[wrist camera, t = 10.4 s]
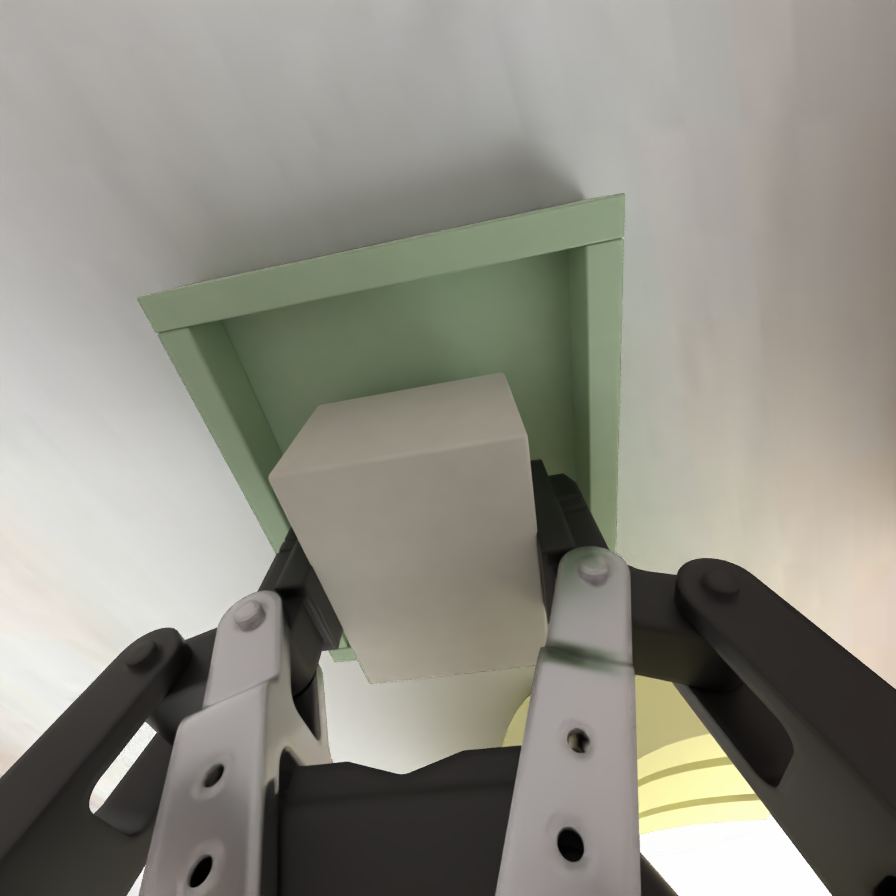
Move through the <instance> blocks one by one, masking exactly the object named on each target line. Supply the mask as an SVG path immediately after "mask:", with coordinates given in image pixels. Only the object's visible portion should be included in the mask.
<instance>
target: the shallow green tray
mask: <svg viewBox="0 0 896 896" xmlns="http://www.w3.org/2000/svg"><path fill="white" fill-rule="evenodd" d="M624 218H625V194H624V193H621V194H615V195H609V196H603V197H597V198H591V199H585V200H581V201H576V202H572V203H567V204H562V205H558V206H553V207H548V208H544V209H539V210H534V211H530V212H525V213H520V214H516V215H511V216H506V217H502V218H497V219H492V220H488V221H483V222H478V223H474V224H469V225H464V226H460V227H455V228H450V229H446V230H441V231H436V232H432V233H427V234H422V235H418V236H413V237H408V238H404V239H399V240H394V241H390V242H385V243H380V244H376V245H371V246H366V247H362V248H357V249H353V250H348V251H343V252H339V253H334V254H329V255H325V256H320V257H315V258H311V259H306V260H301V261H297V262H292V263H287V264H283V265H278V266H273V267H269V268H264V269H259V270H255V271H250V272H245V273H241V274H236V275H231V276H227V277H222V278H217V279H213V280H208V281H203V282H199V283H194V284H190V285H186V286H182V287H178V288H173V289H169V290H165V291H161V292H157V293H153V294H149V295H144V296H140V297H138V298H137V299H138V301H139V303H140V305H141V307H142V309H143V311H144V312H145V314H146V316H147V318H148V320H149V322H150V323H151V325H152V327H153V329H154V331H155V332H157V333H159V332H160V333H159V334H158V337H159V339H160V341H161V342H162V344H163V346H164V348H165V350H166V352H167V353H168V355H169V357H170V359H171V361H172V363H173V365H174V366H175V368H176V370H177V372H178V374H179V376H180V377H181V379H182V381H183V383H184V385H185V387H186V389H187V390H188V392H189V394H190V396H191V398H192V400H193V401H194V403H195V405H196V407H197V409H198V411H199V413H200V414H201V416H202V418H203V420H204V422H205V424H206V425H207V427H208V429H209V431H210V433H211V435H212V436H213V438H214V440H215V442H216V444H217V446H218V448H219V449H220V451H221V453H222V455H223V457H224V459H225V460H226V462H227V464H228V466H229V468H230V470H231V472H232V473H233V475H234V477H235V479H236V481H237V483H238V484H239V486H240V488H241V490H242V492H243V494H244V496H245V497H246V499H247V501H248V503H249V505H250V507H251V508H252V510H253V512H254V514H255V516H256V518H257V520H258V521H259V523H260V525H261V527H262V529H263V531H264V532H265V534H266V536H267V538H268V540H269V542H270V544H271V545H272V547H273V549H274V551H275V553H276V555H277V553H279V549H280V547H281V545H282V543H283V542H285V537H286V535H287V533H288V531H289V530H290V528H291V524H290V522H289V520H288V518H287V516H286V514H285V512H284V510H283V508H282V506H281V504H280V502H279V500H278V498H277V496H276V494H275V492H274V490H273V488H272V486H271V484H270V482H269V478H268V477H269V474H270V473H271V472H272V470H273V469H274V467H275V466H276V465H277V463H278V462H279V460H280V459H281V457H282V456H283V455H284V453H285V452H286V450H287V449H288V448H289V446H290V445H291V443H292V442H293V441H294V439H295V438H296V436H297V435H298V433H299V432H300V431H301V429H302V428H303V426H304V425H305V424H306V422H307V421H308V419H309V418H310V417H311V415H312V414H313V412H314V411H315V409H316V408H317V407H318V406H319V405H323V404H328V403H334V402H339V401H345V400H350V399H356V398H361V397H367V396H372V395H378V394H383V393H389V392H395V391H400V390H406V389H411V388H417V387H422V386H428V385H433V384H439V383H444V382H450V381H456V380H461V379H467V378H472V377H478V376H483V375H489V374H494V373H500V372H502V373H504V374H505V376H506V379H507V382H508V385H509V387H510V390H511V393H512V395H513V398H514V401H515V403H516V406H517V409H518V411H519V414H520V417H521V419H522V422H523V425H524V428H525V430H526V433H527V436H528V444H529V454H530V461H531V460H537V459H542V461H543V464H544V466H545V469H546V471H547V474H548V476H549V475H556V474H562V473H564V474H565V475H566V476H568V477H569V478H570V479H572V480H573V481H575V482H576V483H577V485H578V487H579V489H580V491H581V493H582V496H583V498H584V499H585V501H586V503H587V505H588V508H589V510H590V512H591V514H592V516H593V518H594V520H595V522H596V524H597V526H598V528H599V530H600V532H601V534H602V536H603V538H604V540H605V542H606V544H607V546H608V548H609V549H610V551H612V552H614V553H616V520H617V481H618V442H619V403H620V364H621V326H622V287H623V248H624V240H623V239H622V237H624ZM546 619H547V615H546ZM548 628H549V623H548V619H547V629H548ZM329 653H330V655H331V656H332V658H333V660H334V662H341V661H350V660H357V658H356V656H355V654H354V652H353V650H352V648H351V646H350V643H349V641H348V639H347V637H346V635H345V633H344V631H343V633H342V636H341V640H340V644H339V648H338V649H335V650H329Z"/></svg>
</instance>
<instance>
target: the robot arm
mask: <svg viewBox="0 0 896 896" xmlns="http://www.w3.org/2000/svg"><path fill="white" fill-rule="evenodd" d="M530 464H531V473H532V483H533V493H534V502H535V512H536V522H537V533H536V535H537V545H538V554H539V564H540V573H541V583H542V593H543V602H544V607H545V611H546V615H547V619H548V623H549V628H548V634H547V640H546V644H545V647H543V646H542V647H541V648H540V650H539V654H538V658H537V663H536V668H535V674H534V679H533V685H532V691H531V696H530V702H529V708H528V713H527V719H526V724H525V730H524V736H523V741H522V747H521V745H518V746H508V747H497V748H487V749H476V750H466V751H461V752H459V753H456V754H454V755H452V756H449V757H447V758H444V759H442V760H439V761H437V762H435V763H432V764H430V765H427V766H425V767H422V768H420V769H418V770H415V771H413V772H410V773H407V774H395V773H391V772H387V771H383V770H379V769H375V768H371V767H367V766H363V765H359V764H355V763H351V762H340V763H333V761H332V758H331V754H330V749H329V742H328V731H327V719H326V708H325V696H324V684H323V674H322V670H321V667H320V666H319V664H318V662H319V659H320V655H321V652H322V651H326V650H335V649H338V648H339V644H340V640H341V636H342V633H343V628H342V625H341V623H340V621H339V619H338V617H337V615H336V613H335V611H334V609H333V607H332V605H331V603H330V601H329V599H328V597H327V595H326V593H325V591H324V589H323V587H322V585H321V583H320V581H319V579H318V577H317V575H316V573H315V571H314V569H313V567H312V565H310V563H309V561H308V559H307V557H306V555H305V553H304V551H303V549H302V547H301V544H300V542H299V540H298V538H297V536H296V534H295V532H294V530H293V528H292V526H291V528H290V530H289V531H288V533H287V535H286V537H285V542H283V543H282V545H281V547H280V549H279V553H277V555H276V557H275V559H274V561H273V563H272V564H271V566H270V568H269V570H268V572H267V574H266V576H265V578H264V580H263V582H262V584H261V586H260V588H259V590H258V592H255V593H252V594H250V595H248V596H246V597H244V598H242V599H241V600H239V601H238V602H236V603H235V604H234V605H233V606H232V607H231V608H230V609H229V610H228V611H227V612H226V613H225V614H224V616H223V617H222V619H221V620H220V622H219V624H218V627H217V628H215V629H212V630H210V631H207V632H205V633H202V634H200V635H197V636H195V637H192V638H190V639H187V640H184V639H183V637H182V636H181V635H180V634H179V632H178V631H177V630H175V629H173V628H161V629H158V630H155V631H152V632H150V633H148V634H146V635H144V636H142V637H140V638H139V639H137V640H136V641H134V642H133V643H132V644H130V645H129V646H128V647H127V648H126V649H125V650H124V651H123V652H122V653H121V654H120V655H119V656H118V657H117V658H116V659H115V660H114V661H113V662H112V663H111V664H110V665H109V666H108V667H107V668H106V669H105V670H104V671H103V672H102V673H101V674H100V675H99V676H98V677H97V678H96V679H95V681H94V682H93V683H92V684H91V685H90V686H89V687H88V688H87V689H86V690H85V691H84V692H83V693H82V694H81V695H80V696H79V697H78V698H77V699H76V700H75V701H74V702H73V703H72V704H71V705H70V707H69V708H68V709H67V710H66V711H65V712H64V713H63V714H62V715H61V716H60V717H59V718H58V719H57V720H56V721H55V722H54V723H53V724H52V725H51V726H50V727H49V728H48V729H47V730H46V731H45V733H44V734H43V735H42V736H41V737H40V738H39V739H38V740H37V741H36V742H35V743H34V744H33V745H32V746H31V747H30V748H29V749H28V750H27V751H26V752H25V753H24V754H23V755H22V756H21V757H20V759H19V760H18V761H17V762H16V763H15V764H14V765H13V766H12V767H11V768H10V769H9V770H8V771H7V772H6V773H5V774H4V775H3V776H2V777H1V778H0V896H127V894H128V892H129V891H130V889H131V887H132V886H133V884H134V882H135V881H136V879H137V878H138V876H139V875H140V873H141V871H142V870H143V868H144V867H145V870H144V874H143V879H142V883H141V887H140V892H139V896H678V895H677V894H676V892H675V891H674V890H673V889H672V888H671V887H670V886H669V885H668V884H667V882H666V881H665V880H664V879H663V878H662V877H661V875H660V874H659V873H658V872H657V871H656V870H655V869H654V867H653V866H652V865H651V864H650V863H649V862H648V861H647V860H646V858H645V857H644V856H643V855H642V854H641V853H640V841H639V805H638V769H637V734H636V698H635V675H640V676H645V677H649V678H654V679H659V680H664V681H668V682H672V683H673V685H674V686H675V687H676V689H677V690H678V691H679V693H680V694H681V695H682V697H683V698H684V699H685V701H686V702H687V703H688V705H689V706H690V707H691V709H692V710H693V711H694V713H695V714H696V715H697V717H698V718H699V719H700V721H701V722H702V723H703V724H704V726H705V727H706V728H707V730H708V731H709V732H710V734H711V735H712V736H713V738H714V739H715V740H716V742H717V743H718V744H719V746H720V747H721V748H722V750H723V751H724V752H725V754H726V755H727V756H728V758H729V759H730V760H731V762H732V763H733V764H734V766H735V767H736V768H737V770H738V771H739V772H740V774H741V775H742V776H743V778H744V779H745V780H746V782H747V783H748V784H749V786H750V787H751V788H752V790H753V791H754V792H755V793H756V795H757V796H758V797H759V799H760V800H761V801H762V803H763V804H764V805H765V807H766V808H767V809H768V811H769V812H770V813H771V815H772V816H773V817H774V819H775V820H776V821H777V823H778V824H779V825H780V827H781V828H782V829H783V831H784V832H785V833H786V835H787V836H788V837H789V838H790V840H791V841H792V843H793V844H794V845H795V846H796V848H797V849H798V851H799V852H800V853H801V854H802V856H803V857H804V859H805V860H806V861H807V863H808V864H809V865H810V866H811V868H812V869H813V870H814V872H815V873H816V874H817V876H818V877H819V878H820V880H821V881H822V882H823V884H824V885H825V886H826V888H827V889H828V890H829V892H830V893H831V894H832V896H896V689H895V688H893V687H892V686H891V685H890V684H888V683H887V682H886V681H885V680H883V679H882V678H881V677H880V676H878V675H877V674H876V673H875V672H873V671H872V670H871V669H870V668H868V667H867V666H866V665H865V664H863V663H862V662H861V661H860V660H858V659H857V658H856V657H855V656H853V655H852V654H851V653H850V652H848V651H847V650H846V649H845V648H843V647H842V646H841V645H840V644H838V643H837V642H836V641H835V640H833V639H832V638H831V637H830V636H828V635H827V634H826V633H825V632H824V631H822V630H821V629H820V628H819V627H817V626H816V625H815V624H814V623H812V622H811V621H810V620H809V619H807V618H806V617H805V616H804V615H802V614H801V613H800V612H799V611H797V610H796V609H795V608H794V607H792V606H791V605H790V604H789V603H787V602H786V601H785V600H784V599H782V598H781V597H780V596H779V595H777V594H776V593H775V592H774V591H772V590H771V589H770V588H769V587H767V586H766V585H765V584H764V583H762V582H761V581H760V580H759V579H757V578H756V577H755V576H754V575H752V574H751V573H750V572H748V571H747V570H745V569H743V568H742V567H740V566H738V565H735V564H733V563H730V562H727V561H724V560H719V559H712V558H701V559H695V560H691V561H689V562H687V563H685V564H684V565H682V567H681V568H680V569H679V571H678V573H677V575H672V574H664V573H656V572H649V571H643V570H640V569H636V568H634V567H631V566H629V565H627V564H626V562H625V561H624V560H623V559H622V558H621V557H620V556H619V555H617V554H616V553H614V552H612V551H610V549H609V548H608V546H607V544H606V542H605V540H604V538H603V536H602V534H601V532H600V530H599V528H598V526H597V524H596V522H595V520H594V518H593V516H592V514H591V512H590V510H589V508H588V505H587V503H586V501H585V499H584V498H583V496H582V493H581V491H580V489H579V487H578V485H577V483H576V482H575V481H573V480H572V479H570V478H569V477H568V476H566V475H565V474H564V473H562V474H556V475H549V476H548V474H547V471H546V469H545V466H544V464H543V461H542V459H537V460H531V461H530ZM144 722H146V723H148V724H149V725H150V726H151V727H152V728H153V729H154V730H155V731H156V732H157V733H156V735H155V736H154V737H153V739H152V740H151V741H150V743H149V744H148V745H147V747H146V748H145V749H144V751H143V752H142V753H141V755H140V756H139V757H138V759H137V760H136V761H135V763H134V764H133V765H132V767H131V768H130V769H129V771H128V772H127V773H126V775H125V776H124V777H123V779H122V780H121V781H120V783H119V784H118V785H117V787H116V788H115V789H114V790H113V792H112V793H111V794H110V796H109V797H108V798H107V800H106V801H105V802H104V804H103V805H102V806H101V807H100V808H99V809H98V810H97V811H96V812H95V813H94V814H93V813H92V812H91V811H90V808H89V800H90V796H91V793H92V791H93V789H94V787H95V785H96V783H97V782H98V781H99V779H100V778H101V776H102V775H103V774H104V773H105V771H106V770H107V769H108V768H109V766H110V765H111V764H112V763H113V761H114V760H115V759H116V758H117V756H118V755H119V754H120V752H121V751H122V750H123V749H124V747H125V746H126V745H127V744H128V742H129V741H130V740H131V739H132V737H133V736H134V735H135V733H136V732H137V731H138V730H139V728H140V727H141V726H142V725H143V723H144ZM145 865H146V866H145Z"/></svg>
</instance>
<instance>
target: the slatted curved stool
mask: <svg viewBox="0 0 896 896" xmlns="http://www.w3.org/2000/svg"><path fill="white" fill-rule="evenodd" d="M530 696H531V695H530ZM530 696H528V697H527V698H526V699H525V701H524V702H523V703H522V705H521V706H520V707H519V708H518V710H517V711H516V713H515V715H514V717H513V718H512V720H511V722H510V724H509V726H508V729H507V732H506V735H505V738H504V741H503V744H502V747H508V746H518V745H521V747H522V741H523V736H524V730H525V724H526V719H527V713H528V708H529V702H530ZM635 698H636V734H637V769H638V805H639V835H640V834H644V833H648V832H652V831H655V830H661V829H667V828H673V827H679V826H686V825H692V824H703V823H714V822H725V821H743V820H764V819H766V818H767V817H768V815H769V814H770V812H769V811H768V809H767V808H766V807H765V805H764V804H763V803H762V801H761V800H760V799H759V797H758V796H757V795H756V793H755V792H754V791H753V790H752V788H751V787H750V786H749V784H748V783H747V782H746V780H745V779H744V778H743V776H742V775H741V774H740V772H739V771H738V770H737V768H736V767H735V766H734V764H733V763H732V762H731V760H730V759H729V758H728V756H727V755H726V754H725V752H724V751H723V750H722V748H721V747H720V746H719V744H718V743H717V742H716V740H715V739H714V738H713V736H712V735H711V734H710V732H709V731H708V730H707V728H706V727H705V726H704V724H703V723H702V722H701V721H700V719H699V718H698V717H697V715H696V714H695V713H694V711H693V710H692V709H691V707H690V706H689V705H688V703H687V702H686V701H685V699H684V698H683V697H682V695H681V694H680V693H679V691H678V690H677V689H676V687H675V686H674V685H673V683H672V682H668V681H664V680H659V679H654V678H649V677H645V676H640V675H635Z"/></svg>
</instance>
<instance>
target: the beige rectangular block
mask: <svg viewBox="0 0 896 896" xmlns="http://www.w3.org/2000/svg"><path fill="white" fill-rule="evenodd" d="M268 478H269V482H270V484H271V486H272V488H273V490H274V492H275V494H276V496H277V498H278V500H279V502H280V504H281V506H282V508H283V510H284V512H285V514H286V516H287V518H288V520H289V522H290V524H291V526H292V528H293V530H294V532H295V534H296V536H297V538H298V540H299V542H300V544H301V547H302V549H303V551H304V553H305V555H306V557H307V559H308V561H309V563H310V565H312V567H313V569H314V571H315V573H316V575H317V577H318V579H319V581H320V583H321V585H322V587H323V589H324V591H325V593H326V595H327V597H328V599H329V601H330V603H331V605H332V607H333V609H334V611H335V613H336V615H337V617H338V619H339V621H340V623H341V625H342V628H343V631H344V633H345V635H346V637H347V639H348V641H349V643H350V646H351V648H352V650H353V652H354V654H355V656H356V658H357V660H358V662H359V664H360V666H361V668H362V670H363V672H364V674H365V676H366V678H367V680H368V682H369V683H370V684H376V683H385V682H394V681H403V680H412V679H421V678H430V677H439V676H448V675H456V674H465V673H474V672H483V671H492V670H501V669H510V668H519V667H528V666H536V663H537V658H538V654H539V650H540V648H541V647H542V646H543V647H545V644H546V640H547V634H548V629H547V619H546V611H545V607H544V602H543V593H542V583H541V573H540V564H539V554H538V545H537V535H536V533H537V522H536V512H535V502H534V493H533V483H532V473H531V464H530V454H529V444H528V436H527V433H526V430H525V428H524V425H523V422H522V419H521V417H520V414H519V411H518V409H517V406H516V403H515V401H514V398H513V395H512V393H511V390H510V387H509V385H508V382H507V379H506V376H505V374H504V373H502V372H500V373H494V374H489V375H483V376H478V377H472V378H467V379H461V380H456V381H450V382H444V383H439V384H433V385H428V386H422V387H417V388H411V389H406V390H400V391H395V392H389V393H383V394H378V395H372V396H367V397H361V398H356V399H350V400H345V401H339V402H334V403H328V404H323V405H319V406H318V407H317V408H316V409H315V411H314V412H313V414H312V415H311V417H310V418H309V419H308V421H307V422H306V424H305V425H304V426H303V428H302V429H301V431H300V432H299V433H298V435H297V436H296V438H295V439H294V441H293V442H292V443H291V445H290V446H289V448H288V449H287V450H286V452H285V453H284V455H283V456H282V457H281V459H280V460H279V462H278V463H277V465H276V466H275V467H274V469H273V470H272V472H271V473H270V474H269V477H268Z"/></svg>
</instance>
